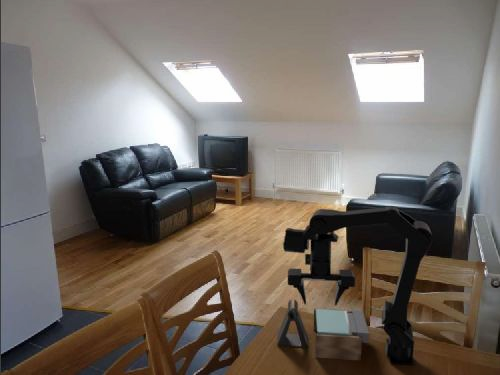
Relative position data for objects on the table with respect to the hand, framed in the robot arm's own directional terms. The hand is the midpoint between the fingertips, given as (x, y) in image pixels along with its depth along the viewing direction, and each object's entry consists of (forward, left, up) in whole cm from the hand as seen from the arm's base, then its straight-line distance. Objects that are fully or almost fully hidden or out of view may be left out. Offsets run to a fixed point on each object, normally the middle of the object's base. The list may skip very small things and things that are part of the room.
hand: (320, 304), depth 114 cm
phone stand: (+8, 0, -13) cm, 15 cm away
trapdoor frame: (-5, 0, -13) cm, 14 cm away
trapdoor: (-6, 0, -8) cm, 10 cm away
